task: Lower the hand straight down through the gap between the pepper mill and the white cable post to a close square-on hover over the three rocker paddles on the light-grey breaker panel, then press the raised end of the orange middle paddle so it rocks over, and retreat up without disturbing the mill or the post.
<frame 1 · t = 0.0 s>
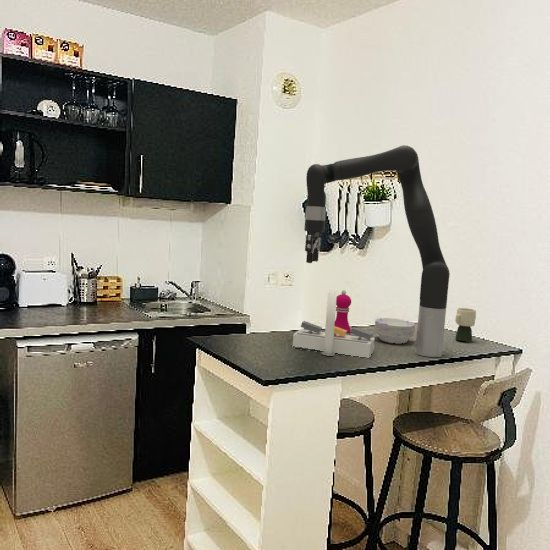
hand: (312, 262, 210), 29 cm above the worktop, tool pointing down, fingers open, 8 cm apart
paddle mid: (336, 330, 197), point 7 cm above the worktop, hinge at -13.0°
pepper mill: (340, 343, 209), on the worktop
character mug: (463, 341, 225), on the worktop
breaker panel: (333, 349, 198), on the worktop
paddle 2: (361, 333, 194), point 7 cm above the worktop, hinge at -13.0°
paper bowls: (393, 341, 218), on the worktop
cable post: (327, 355, 190), on the worktop
paddle 1: (311, 327, 200), point 7 cm above the worktop, hinge at -13.0°
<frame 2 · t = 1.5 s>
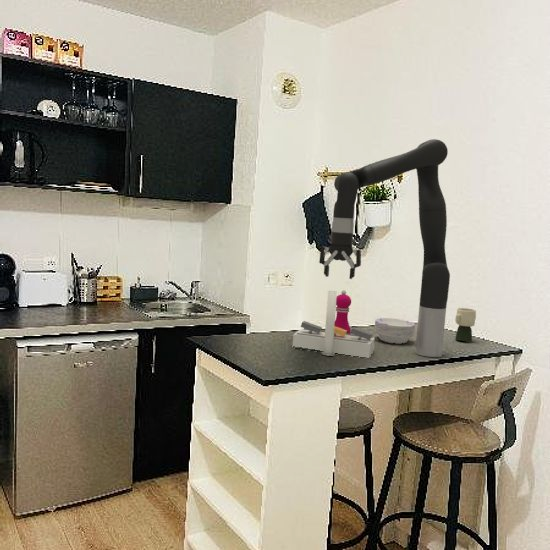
hand: (338, 277, 195), 26 cm above the worktop, tool pointing down, fingers open, 8 cm apart
nothing on the worktop moved.
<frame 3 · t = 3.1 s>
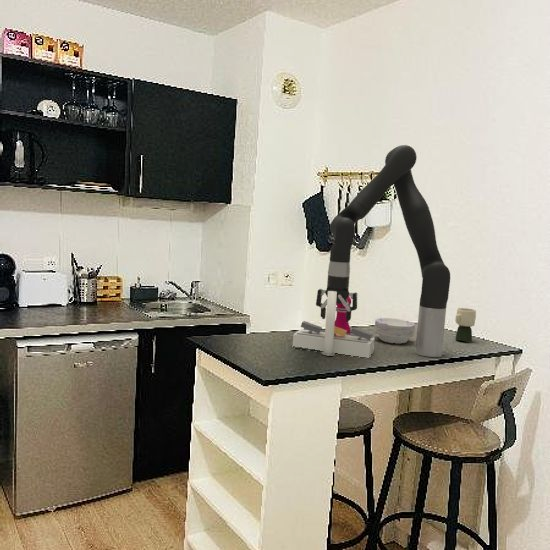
hand: (335, 320, 197), 11 cm above the worktop, tool pointing down, fingers open, 8 cm apart
nothing on the worktop moved.
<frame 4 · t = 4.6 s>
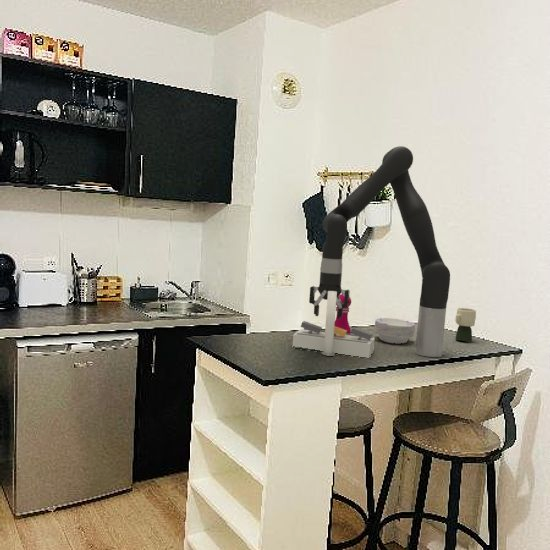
hand: (327, 317, 198), 11 cm above the worktop, tool pointing down, fingers open, 7 cm apart
nothing on the worktop moved.
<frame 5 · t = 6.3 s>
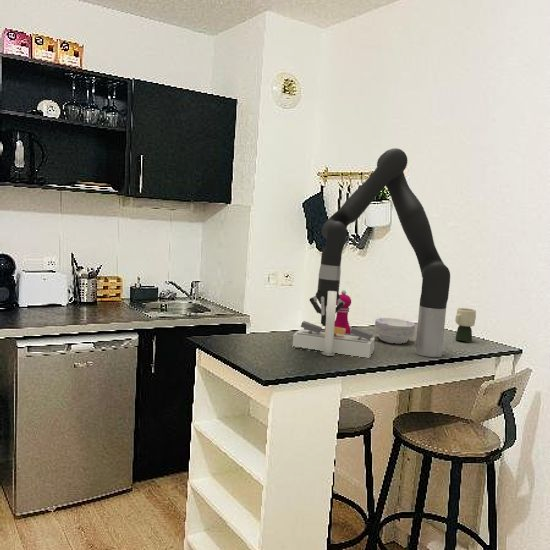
hand: (324, 325, 198), 8 cm above the worktop, tool pointing down, fingers closed
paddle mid: (335, 330, 197), point 7 cm above the worktop, hinge at -3.2°, touching gripper
everything else where it was.
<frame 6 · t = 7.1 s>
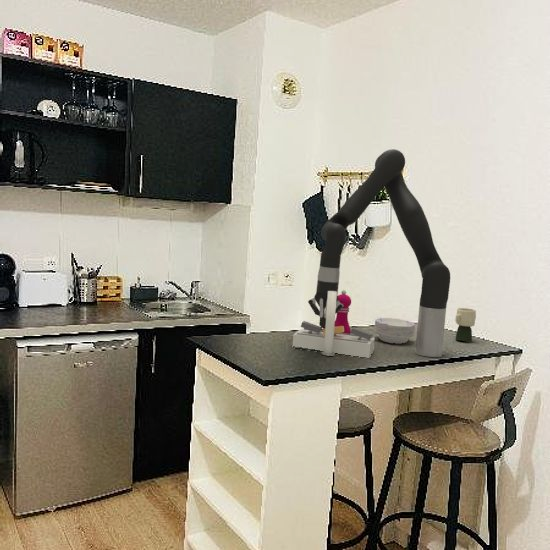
hand: (323, 327, 199), 7 cm above the worktop, tool pointing down, fingers closed
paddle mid: (333, 329, 197), point 7 cm above the worktop, hinge at 11.4°, touching gripper
everything else where it was.
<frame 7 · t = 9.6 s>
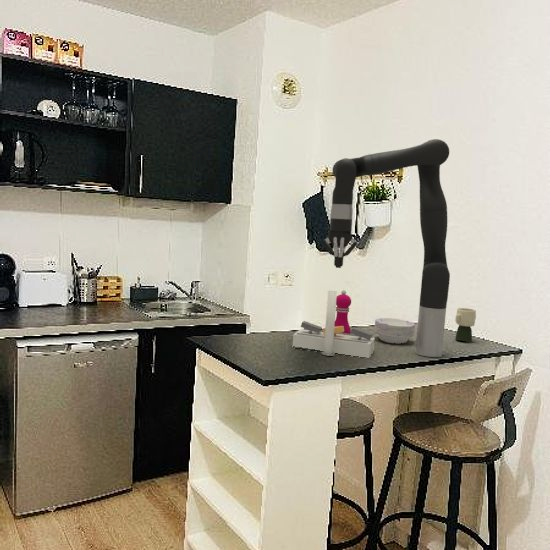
hand: (338, 267, 195), 29 cm above the worktop, tool pointing down, fingers closed
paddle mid: (333, 329, 197), point 7 cm above the worktop, hinge at 12.2°
everything else where it was.
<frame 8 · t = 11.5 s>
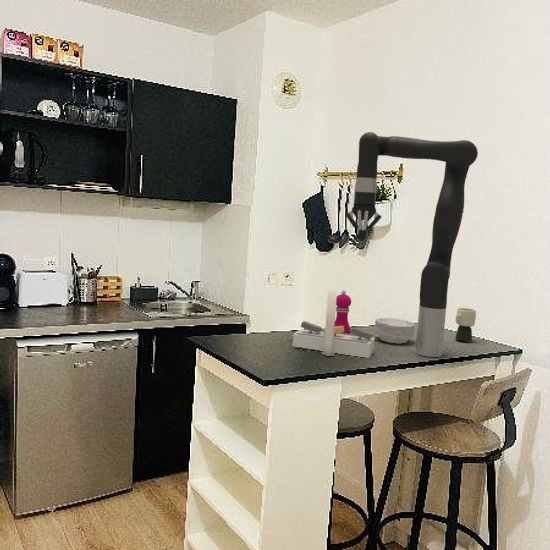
hand: (361, 240, 198), 39 cm above the worktop, tool pointing down, fingers closed
nothing on the worktop moved.
at the end: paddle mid at +12° (first picture: -13°); paddle 2 at -13° (first picture: -13°); cable post moved 0.0 cm from its start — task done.
